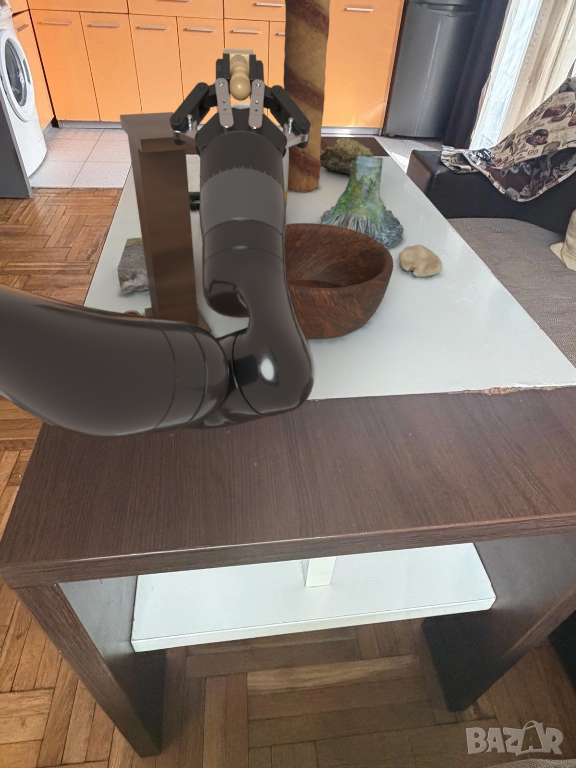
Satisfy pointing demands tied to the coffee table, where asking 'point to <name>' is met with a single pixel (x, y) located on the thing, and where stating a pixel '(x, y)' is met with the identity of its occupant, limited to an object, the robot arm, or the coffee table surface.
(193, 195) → the gun
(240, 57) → the wooden mallet
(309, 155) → the wafer roll
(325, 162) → the mineral specimen
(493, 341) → the coffee table surface
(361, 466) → the coffee table surface
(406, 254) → the stone
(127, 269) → the geological specimen
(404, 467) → the coffee table surface
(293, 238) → the wooden bowl
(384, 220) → the tree stump
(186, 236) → the stand
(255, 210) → the robot arm
